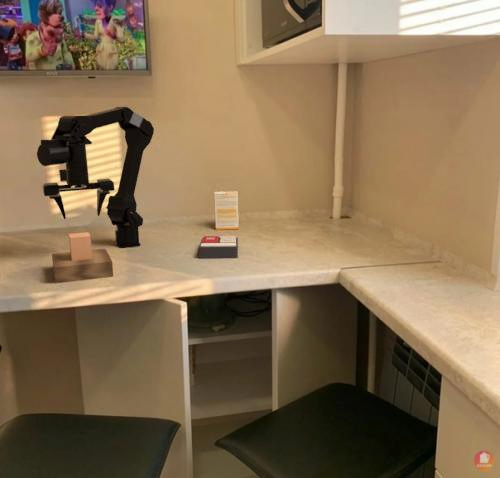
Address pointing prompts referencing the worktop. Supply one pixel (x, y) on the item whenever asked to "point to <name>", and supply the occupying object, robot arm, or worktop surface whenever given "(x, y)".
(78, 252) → the terracotta block
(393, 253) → the worktop surface
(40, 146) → the robot arm
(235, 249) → the red white black box
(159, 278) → the worktop surface
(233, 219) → the supplement box
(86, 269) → the walnut base
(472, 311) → the worktop surface
